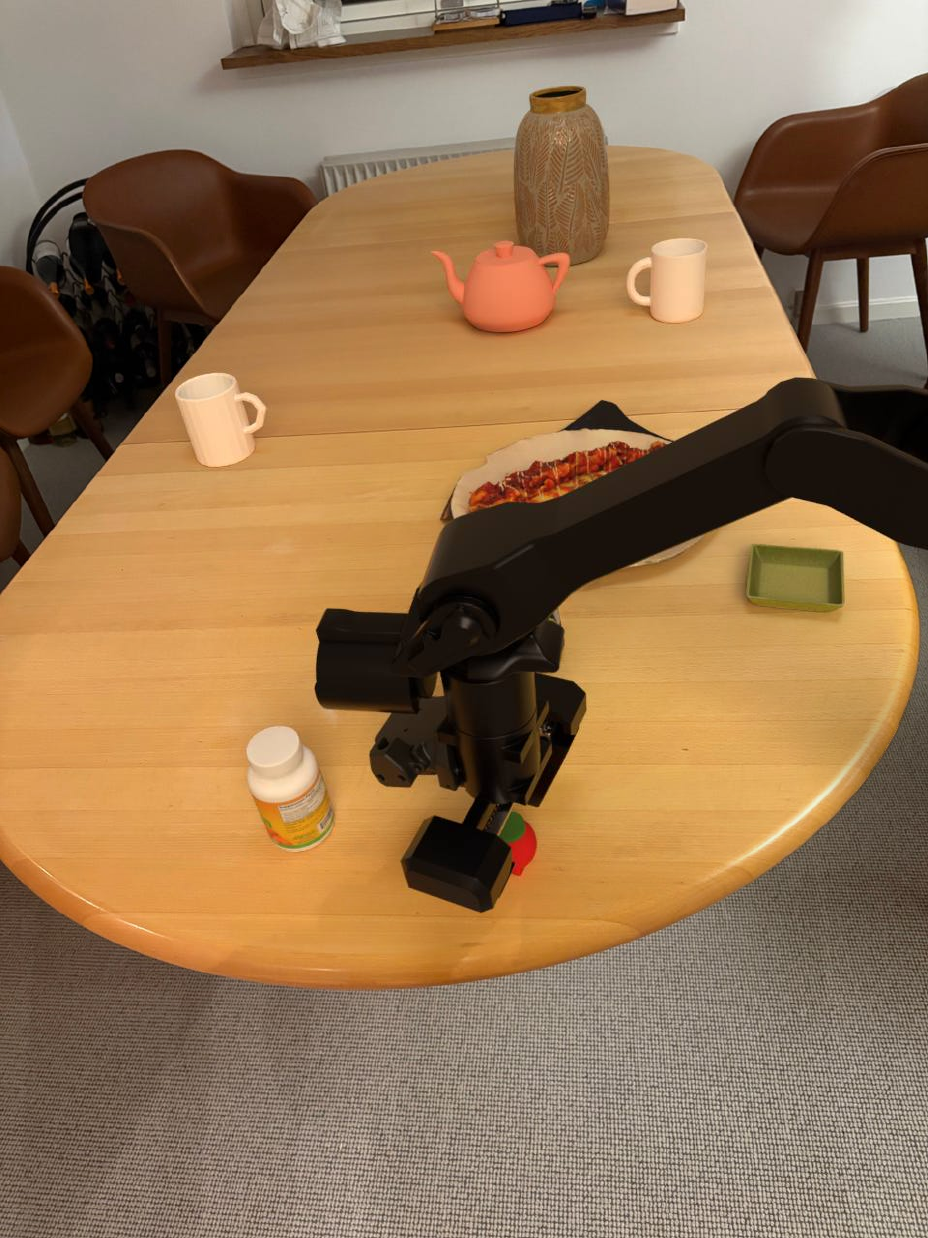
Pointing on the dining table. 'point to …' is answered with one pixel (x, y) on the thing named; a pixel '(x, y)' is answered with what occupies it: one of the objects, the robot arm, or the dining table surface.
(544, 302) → the teapot
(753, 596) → the green shallow tray
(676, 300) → the mug
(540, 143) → the vase
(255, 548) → the dining table surface
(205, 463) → the mug
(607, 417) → the omelette plate
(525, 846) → the strawberry
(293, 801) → the supplement bottle
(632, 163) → the dining table surface
